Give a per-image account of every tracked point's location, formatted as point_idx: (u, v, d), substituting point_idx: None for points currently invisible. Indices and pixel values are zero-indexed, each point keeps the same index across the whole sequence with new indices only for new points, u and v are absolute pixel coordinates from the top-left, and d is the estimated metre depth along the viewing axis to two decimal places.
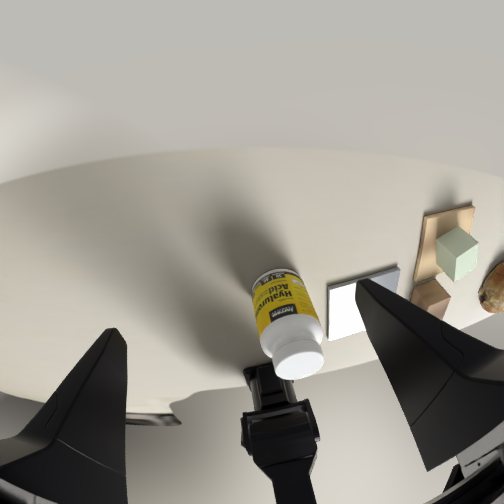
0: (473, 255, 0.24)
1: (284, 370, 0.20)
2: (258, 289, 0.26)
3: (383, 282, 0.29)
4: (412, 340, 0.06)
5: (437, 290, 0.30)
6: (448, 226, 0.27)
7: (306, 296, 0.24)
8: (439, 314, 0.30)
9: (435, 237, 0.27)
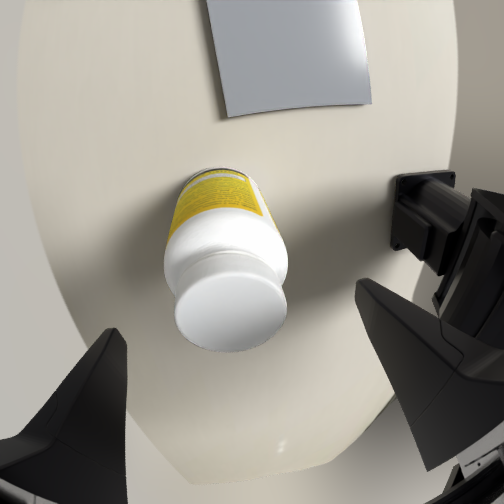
0: None
1: (237, 341, 0.10)
2: None
3: (230, 6, 0.10)
4: (412, 340, 0.06)
5: None
6: None
7: (181, 204, 0.13)
8: None
9: None
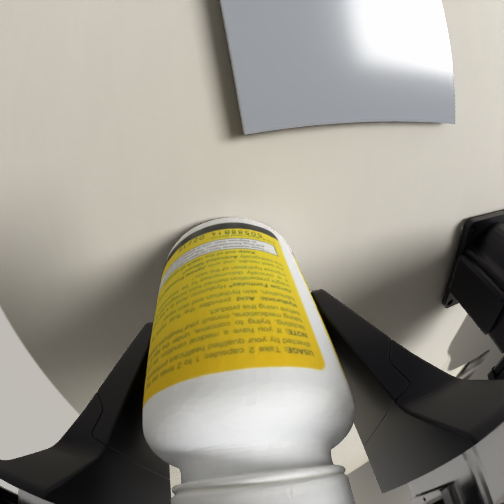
0: None
1: None
2: None
3: None
4: (356, 360, 0.06)
5: None
6: None
7: (164, 307, 0.07)
8: None
9: None
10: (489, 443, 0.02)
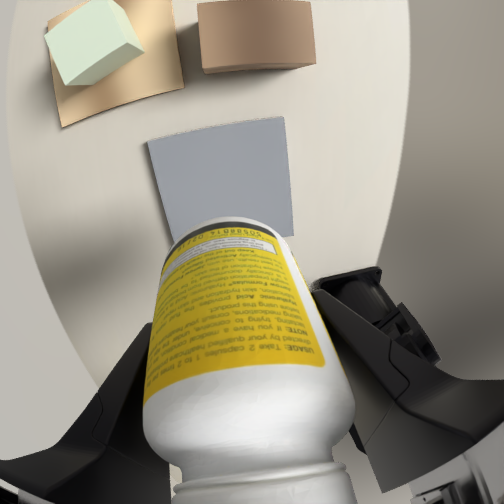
0: (67, 27, 0.08)
1: None
2: None
3: (171, 168, 0.17)
4: (356, 360, 0.06)
5: None
6: None
7: (164, 306, 0.07)
8: (254, 16, 0.10)
9: (89, 88, 0.13)
10: (489, 443, 0.02)
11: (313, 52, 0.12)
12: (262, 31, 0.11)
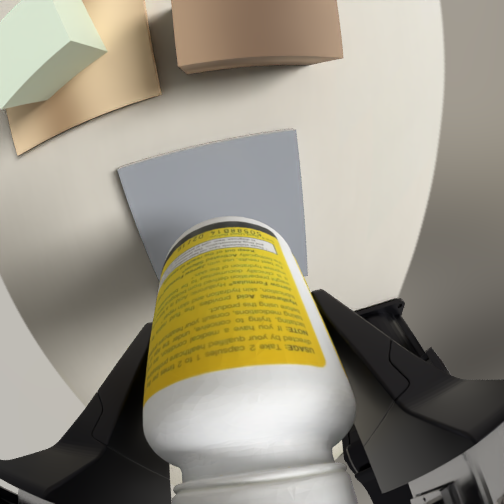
0: (2, 32, 0.04)
1: None
2: None
3: (150, 202, 0.14)
4: (356, 360, 0.06)
5: None
6: None
7: (164, 305, 0.07)
8: None
9: (44, 104, 0.09)
10: (489, 443, 0.02)
11: (339, 42, 0.08)
12: (265, 10, 0.07)
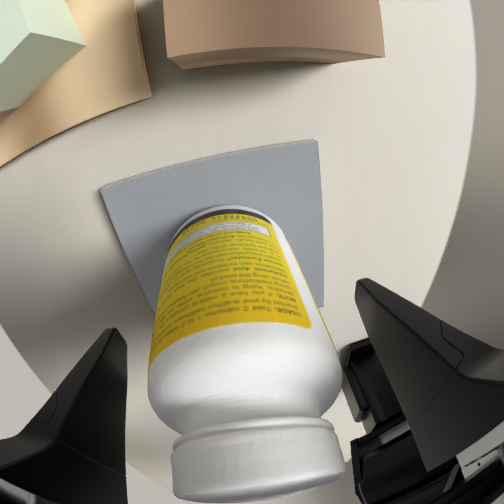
0: None
1: (266, 498, 0.05)
2: None
3: (141, 229, 0.11)
4: (412, 340, 0.06)
5: None
6: None
7: (169, 281, 0.08)
8: None
9: (15, 112, 0.07)
10: None
11: (380, 36, 0.05)
12: None
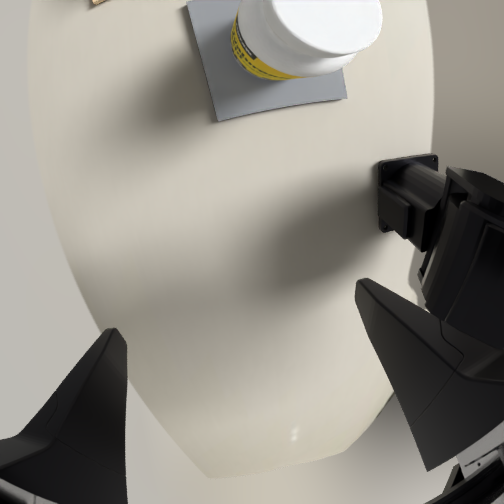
0: None
1: (338, 34, 0.06)
2: (251, 71, 0.13)
3: (212, 23, 0.13)
4: (412, 340, 0.06)
5: None
6: None
7: None
8: None
9: None
10: None
11: None
12: None
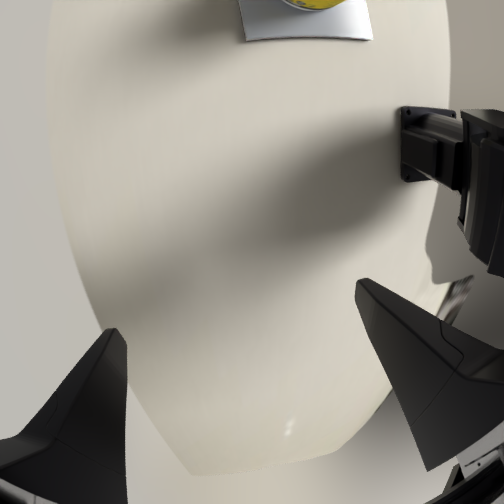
0: None
1: None
2: None
3: None
4: (412, 340, 0.06)
5: None
6: None
7: None
8: None
9: None
10: None
11: None
12: None
